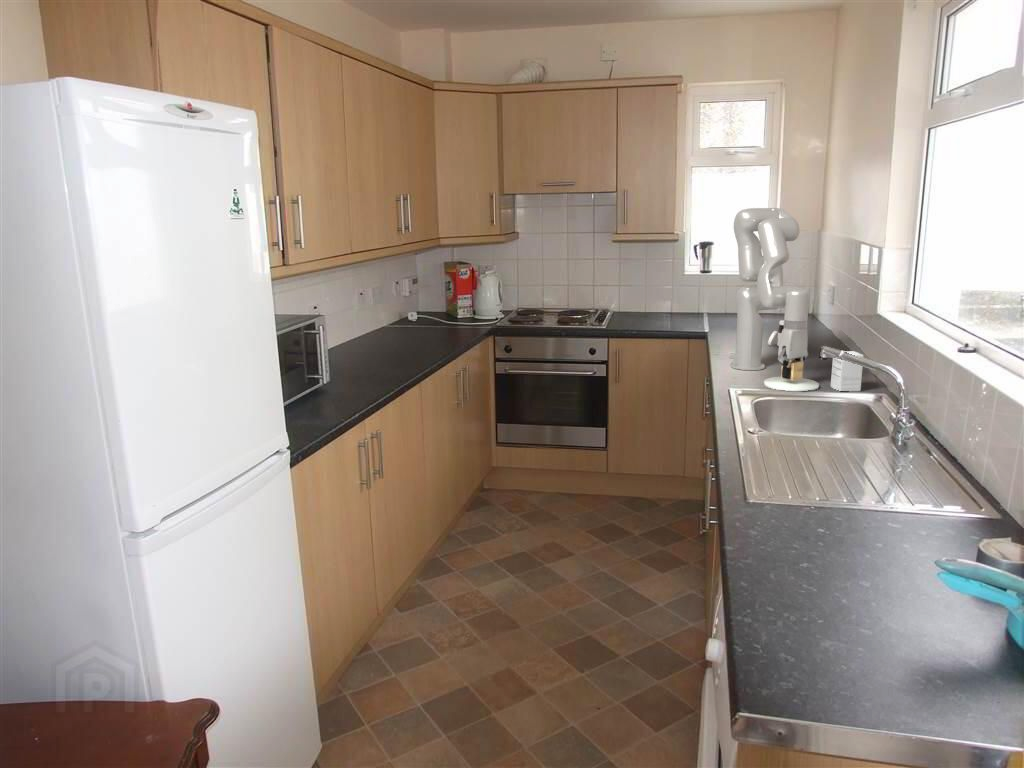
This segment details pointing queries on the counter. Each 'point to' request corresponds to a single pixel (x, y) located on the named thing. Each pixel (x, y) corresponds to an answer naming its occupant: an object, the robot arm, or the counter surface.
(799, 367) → the block
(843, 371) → the supplement box
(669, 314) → the counter surface
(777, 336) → the spread jar
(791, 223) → the robot arm
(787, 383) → the dish
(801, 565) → the counter surface
